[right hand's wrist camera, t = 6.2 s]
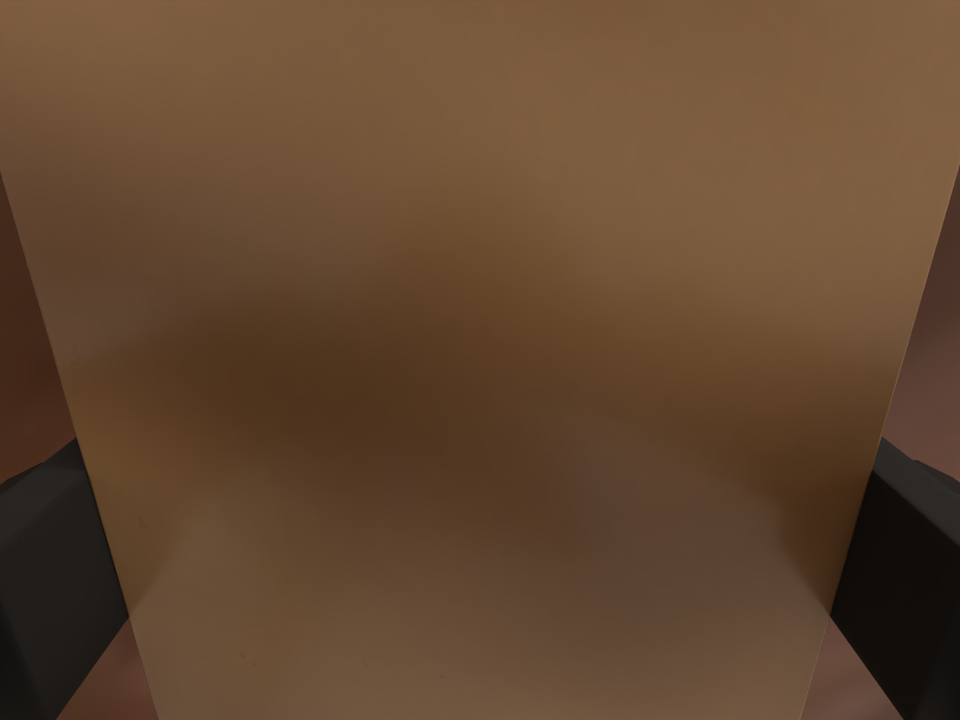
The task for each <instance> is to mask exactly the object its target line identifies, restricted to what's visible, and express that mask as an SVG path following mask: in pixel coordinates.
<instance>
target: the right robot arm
mask: <svg viewBox="0 0 960 720" xmlns="http://www.w3.org/2000/svg"><path fill="white" fill-rule="evenodd" d="M128 617H129V616H128V613H127V609H126V606H125V602H124V599H123V595H122V592H121V588H120V585H119V582H118V578H117V575H116V571H115V568H114V564H113V561H112V557H111V554H110V550H109V547H108V544H107V540H106V537H105V533H104V530H103V526H102V523H101V519H100V516H99V512H98V509H97V505H96V502H95V499H94V495H93V492H92V488H91V485H90V481H89V478H88V474H87V471H86V467H85V464H84V461H83V457H82V454H81V450H80V447H79V443H78V440H77V437H76V438H75V439H74V440H72V441H71V442H70V443H68V444H67V445H66V446H64V447H63V448H62V449H61V450H59V451H58V452H57V453H55V454H54V455H53V456H52V457H50V458H49V459H48V460H46V461H45V462H44V463H40V464H38V465H36V466H34V467H32V468H30V469H28V470H26V471H24V472H22V473H20V474H18V475H16V476H14V477H12V478H10V479H8V480H6V481H5V482H4V483H2V484H1V485H0V720H56V718H57V717H58V715H59V714H60V713H61V711H62V710H63V708H64V707H65V706H66V704H67V703H68V701H69V700H70V699H71V697H72V696H73V694H74V693H75V692H76V690H77V689H78V687H79V686H80V685H81V683H82V682H83V680H84V679H85V678H86V676H87V675H88V673H89V672H90V671H91V669H92V668H93V666H94V665H95V664H96V662H97V661H98V659H99V658H100V657H101V655H102V654H103V652H104V651H105V650H106V648H107V647H108V645H109V644H110V643H111V641H112V640H113V638H114V637H115V636H116V634H117V633H118V631H119V630H120V629H121V627H122V626H123V624H124V623H125V622H126V620H127V619H128ZM830 617H831V618H832V620H833V621H834V623H835V624H836V625H837V627H838V628H839V630H840V631H841V632H842V634H843V635H844V637H845V638H846V639H847V641H848V642H849V644H850V645H851V646H852V648H853V649H854V651H855V652H856V653H857V655H858V656H859V658H860V659H861V660H862V662H863V663H864V665H865V666H866V667H867V669H868V670H869V672H870V673H871V674H872V676H873V677H874V679H875V680H876V681H877V683H878V684H879V686H880V687H881V688H882V690H883V691H884V693H885V694H886V695H887V697H888V698H889V700H890V701H891V702H892V704H893V705H894V707H895V708H896V709H897V711H898V712H899V714H900V715H901V716H902V718H903V719H904V720H960V483H959V482H958V481H957V480H955V479H954V478H953V477H951V476H949V475H947V474H944V473H942V472H940V471H938V470H936V469H934V468H932V467H930V466H928V465H926V464H924V463H922V462H920V461H918V460H912V459H910V458H909V457H908V456H906V455H905V454H904V453H903V452H901V451H900V450H899V449H897V448H896V447H895V446H894V445H892V444H891V443H890V442H888V441H887V440H886V439H884V438H883V437H881V441H880V444H879V448H878V451H877V455H876V458H875V462H874V465H873V469H872V472H871V475H870V479H869V482H868V486H867V489H866V493H865V496H864V500H863V503H862V507H861V510H860V514H859V517H858V521H857V524H856V528H855V531H854V535H853V538H852V542H851V545H850V549H849V552H848V556H847V559H846V562H845V566H844V569H843V573H842V576H841V580H840V583H839V587H838V590H837V594H836V597H835V601H834V604H833V608H832V611H831V615H830Z"/></svg>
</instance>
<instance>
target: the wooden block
mask: <svg viewBox="0 0 960 720" xmlns="http://www.w3.org/2000/svg"><path fill="white" fill-rule="evenodd" d="M959 166H960V0H0V174H1V177H2V181H3V184H4V187H5V191H6V194H7V198H8V201H9V205H10V208H11V212H12V215H13V219H14V222H15V225H16V229H17V232H18V236H19V239H20V243H21V246H22V250H23V253H24V257H25V260H26V264H27V267H28V270H29V274H30V277H31V281H32V284H33V288H34V291H35V295H36V298H37V302H38V305H39V308H40V312H41V315H42V319H43V322H44V326H45V329H46V333H47V336H48V340H49V343H50V346H51V350H52V353H53V357H54V360H55V364H56V367H57V371H58V374H59V378H60V381H61V385H62V388H63V391H64V395H65V398H66V402H67V405H68V409H69V412H70V416H71V419H72V423H73V426H74V429H75V433H76V436H77V440H78V443H79V447H80V450H81V454H82V457H83V461H84V464H85V467H86V471H87V474H88V478H89V481H90V485H91V488H92V492H93V495H94V499H95V502H96V505H97V509H98V512H99V516H100V519H101V523H102V526H103V530H104V533H105V537H106V540H107V544H108V547H109V550H110V554H111V557H112V561H113V564H114V568H115V571H116V575H117V578H118V582H119V585H120V588H121V592H122V595H123V599H124V602H125V606H126V609H127V613H128V616H129V620H130V623H131V626H132V630H133V633H134V637H135V640H136V644H137V647H138V651H139V654H140V658H141V661H142V664H143V668H144V671H145V675H146V678H147V682H148V685H149V689H150V692H151V696H152V699H153V703H154V706H155V709H156V713H157V716H158V720H800V719H801V716H802V712H803V709H804V705H805V702H806V698H807V695H808V691H809V688H810V684H811V681H812V677H813V674H814V670H815V667H816V663H817V660H818V656H819V653H820V650H821V646H822V643H823V639H824V636H825V632H826V629H827V625H828V622H829V618H830V615H831V611H832V608H833V604H834V601H835V597H836V594H837V590H838V587H839V583H840V580H841V576H842V573H843V569H844V566H845V562H846V559H847V556H848V552H849V549H850V545H851V542H852V538H853V535H854V531H855V528H856V524H857V521H858V517H859V514H860V510H861V507H862V503H863V500H864V496H865V493H866V489H867V486H868V482H869V479H870V475H871V472H872V469H873V465H874V462H875V458H876V455H877V451H878V448H879V444H880V441H881V437H882V434H883V430H884V427H885V423H886V420H887V416H888V413H889V409H890V406H891V402H892V399H893V395H894V392H895V388H896V385H897V381H898V378H899V375H900V371H901V368H902V364H903V361H904V357H905V354H906V350H907V347H908V343H909V340H910V336H911V333H912V329H913V326H914V322H915V319H916V315H917V312H918V308H919V305H920V301H921V298H922V294H923V291H924V287H925V284H926V281H927V277H928V274H929V270H930V267H931V263H932V260H933V256H934V253H935V249H936V246H937V242H938V239H939V235H940V232H941V228H942V225H943V221H944V218H945V214H946V211H947V207H948V204H949V200H950V197H951V194H952V190H953V187H954V183H955V180H956V176H957V173H958V169H959Z"/></svg>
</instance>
